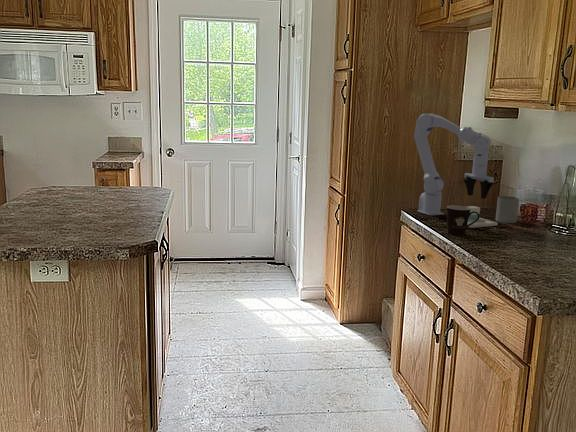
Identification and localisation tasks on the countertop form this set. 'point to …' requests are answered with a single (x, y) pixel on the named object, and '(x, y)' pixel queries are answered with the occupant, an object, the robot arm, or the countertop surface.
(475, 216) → the block
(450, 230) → the coffee mug
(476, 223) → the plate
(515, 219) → the cup
